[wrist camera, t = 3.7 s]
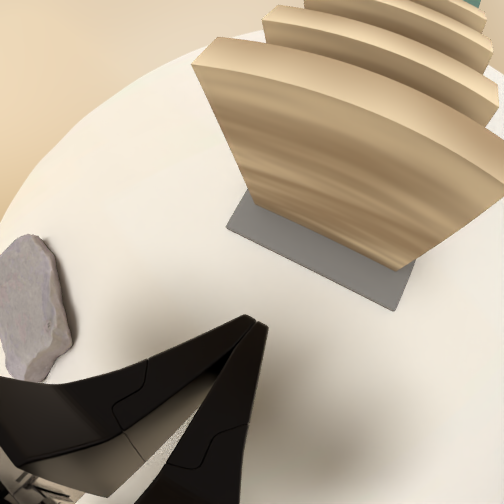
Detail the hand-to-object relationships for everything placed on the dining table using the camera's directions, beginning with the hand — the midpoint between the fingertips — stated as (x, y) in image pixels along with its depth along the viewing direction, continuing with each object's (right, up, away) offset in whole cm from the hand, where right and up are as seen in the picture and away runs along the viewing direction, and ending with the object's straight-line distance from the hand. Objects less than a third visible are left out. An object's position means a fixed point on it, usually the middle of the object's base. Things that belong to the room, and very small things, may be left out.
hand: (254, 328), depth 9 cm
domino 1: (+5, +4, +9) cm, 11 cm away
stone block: (-20, -3, +13) cm, 24 cm away
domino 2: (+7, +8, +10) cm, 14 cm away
